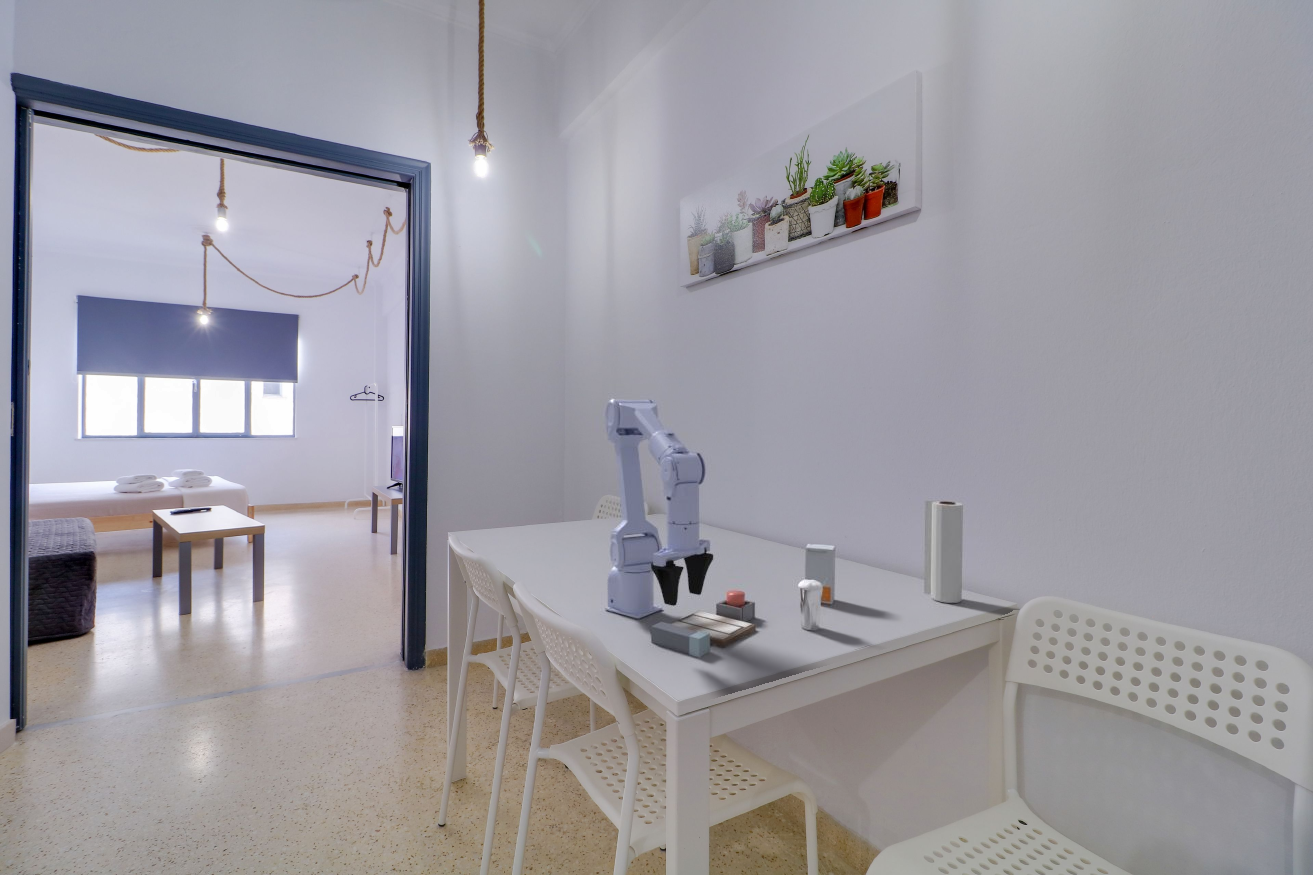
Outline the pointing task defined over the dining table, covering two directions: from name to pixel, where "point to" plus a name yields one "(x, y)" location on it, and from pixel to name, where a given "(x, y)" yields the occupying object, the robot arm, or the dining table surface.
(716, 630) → the brown flat wooden board
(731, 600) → the button
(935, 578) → the paper towel roll
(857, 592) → the dining table surface
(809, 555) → the skincare box
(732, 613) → the button housing
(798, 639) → the dining table surface
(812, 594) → the milkshake
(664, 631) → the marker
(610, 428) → the robot arm
